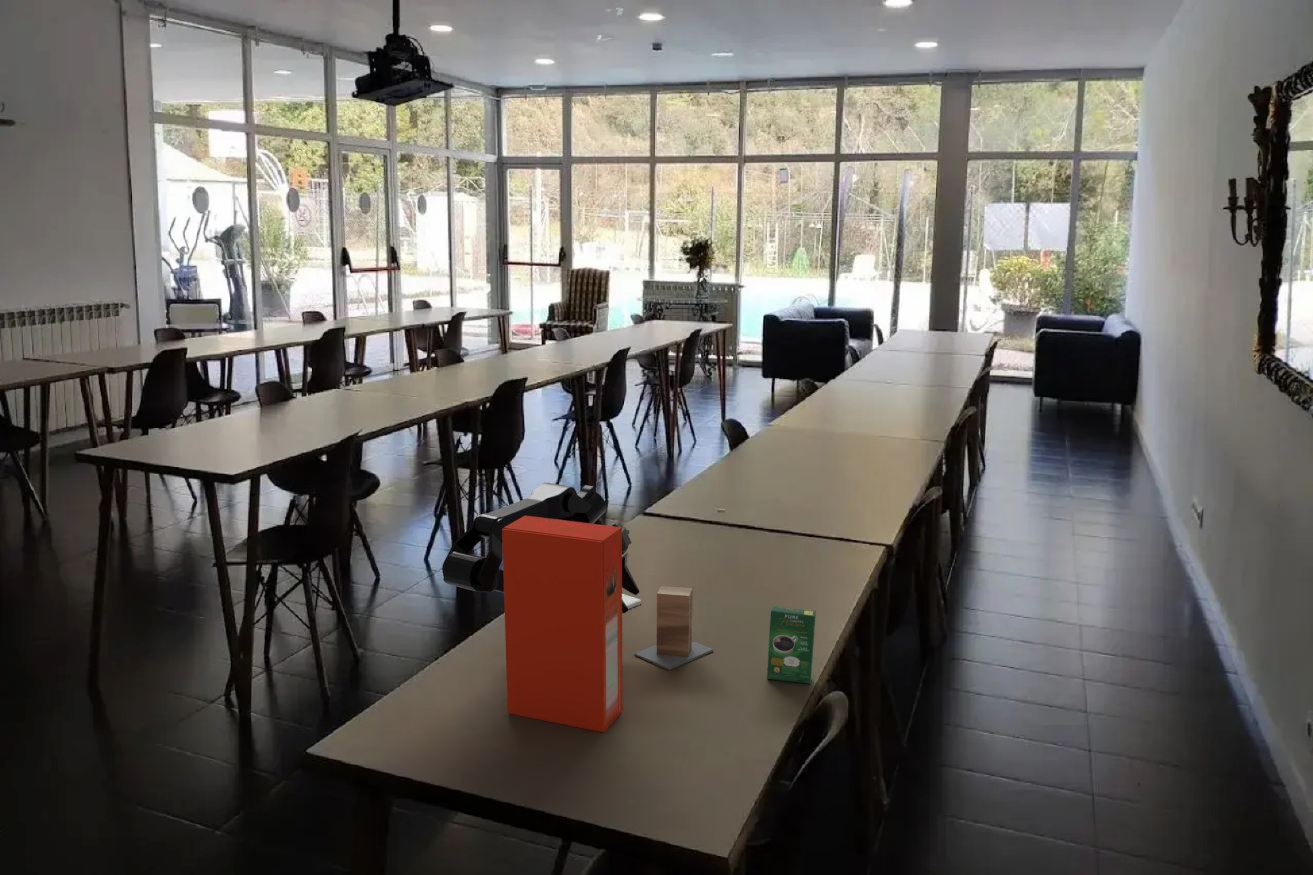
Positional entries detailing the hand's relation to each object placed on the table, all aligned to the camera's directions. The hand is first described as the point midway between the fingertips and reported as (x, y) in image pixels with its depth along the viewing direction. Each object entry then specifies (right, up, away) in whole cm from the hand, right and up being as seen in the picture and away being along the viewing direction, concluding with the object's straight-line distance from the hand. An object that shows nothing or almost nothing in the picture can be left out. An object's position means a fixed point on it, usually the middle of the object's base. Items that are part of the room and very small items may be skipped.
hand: (632, 602), depth 191 cm
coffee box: (+28, -12, -9) cm, 32 cm away
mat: (+8, -10, +1) cm, 12 cm away
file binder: (-11, -15, -23) cm, 29 cm away
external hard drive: (-6, -6, +24) cm, 25 cm away
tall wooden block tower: (+8, -9, +1) cm, 12 cm away
